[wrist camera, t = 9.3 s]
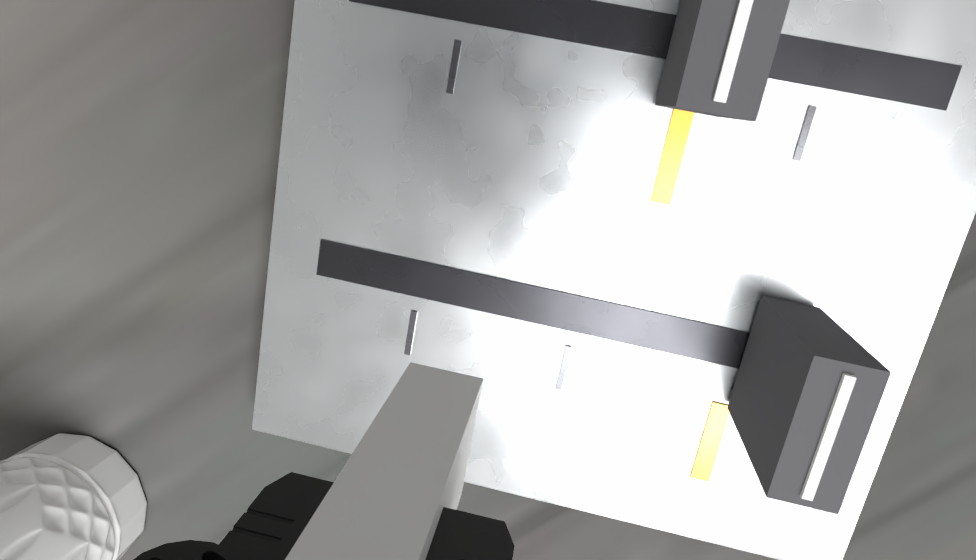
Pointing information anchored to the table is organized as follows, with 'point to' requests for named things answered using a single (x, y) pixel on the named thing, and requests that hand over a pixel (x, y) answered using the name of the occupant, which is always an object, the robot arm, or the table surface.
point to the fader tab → (804, 403)
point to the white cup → (69, 501)
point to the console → (607, 237)
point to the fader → (721, 56)
